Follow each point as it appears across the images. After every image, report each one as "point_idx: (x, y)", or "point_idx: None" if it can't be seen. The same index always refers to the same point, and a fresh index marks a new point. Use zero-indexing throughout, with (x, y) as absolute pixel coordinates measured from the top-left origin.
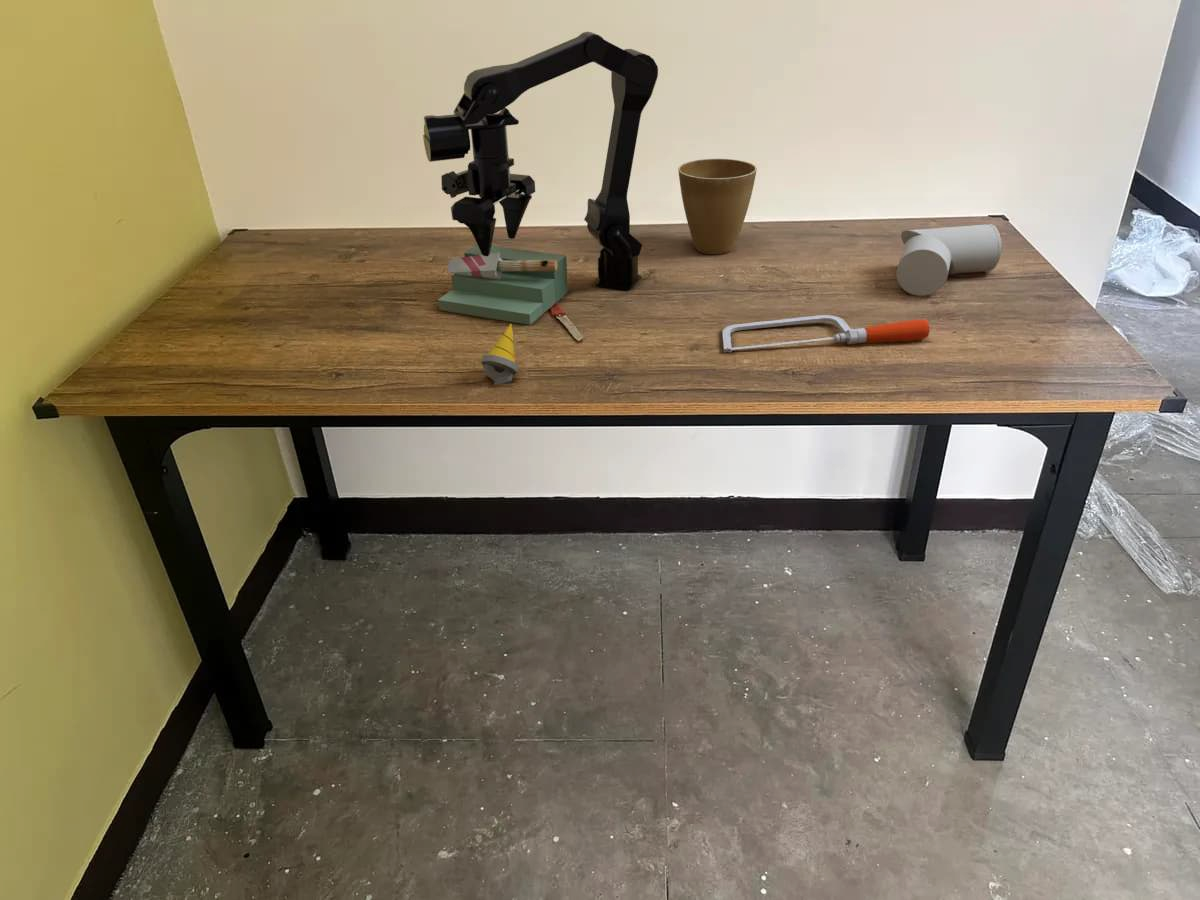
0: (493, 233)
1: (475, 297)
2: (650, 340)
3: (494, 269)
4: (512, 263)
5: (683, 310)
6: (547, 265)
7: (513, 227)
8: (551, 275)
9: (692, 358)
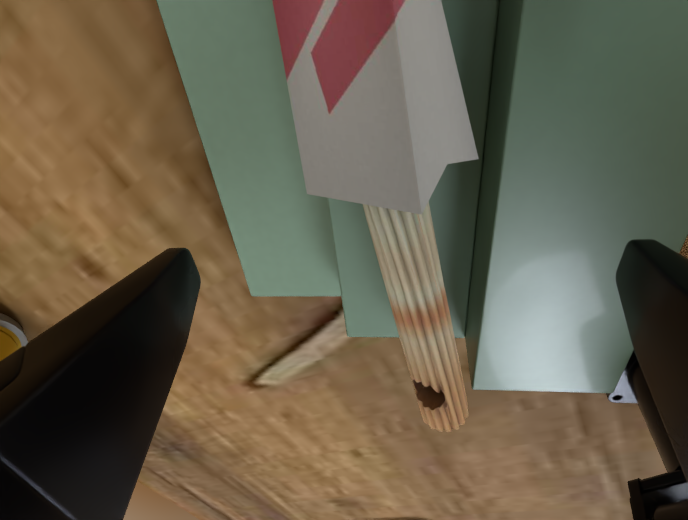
0: (126, 497)
1: (256, 18)
2: (335, 463)
3: (310, 185)
4: (387, 270)
5: (500, 479)
6: (418, 400)
7: (660, 360)
8: (467, 339)
9: (306, 504)
